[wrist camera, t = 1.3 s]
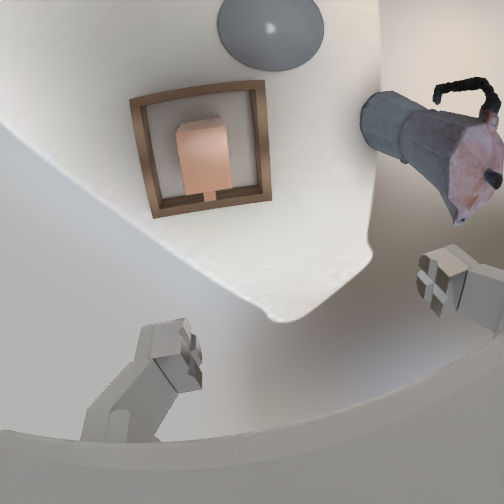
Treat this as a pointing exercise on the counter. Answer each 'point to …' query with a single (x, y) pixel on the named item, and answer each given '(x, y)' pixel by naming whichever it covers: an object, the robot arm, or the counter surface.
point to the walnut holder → (222, 196)
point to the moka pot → (442, 143)
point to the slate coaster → (271, 32)
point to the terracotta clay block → (204, 157)
